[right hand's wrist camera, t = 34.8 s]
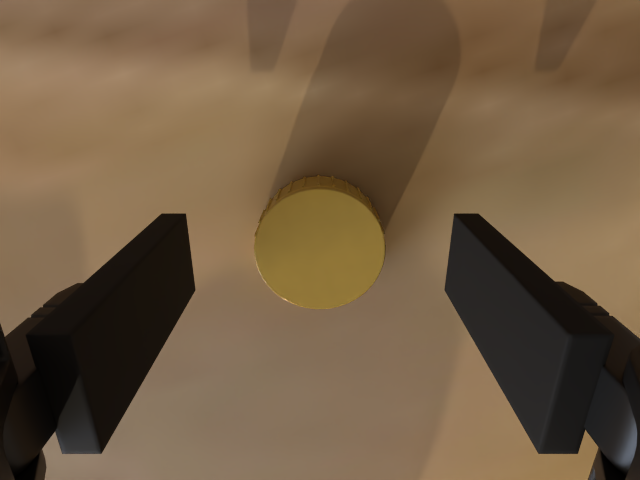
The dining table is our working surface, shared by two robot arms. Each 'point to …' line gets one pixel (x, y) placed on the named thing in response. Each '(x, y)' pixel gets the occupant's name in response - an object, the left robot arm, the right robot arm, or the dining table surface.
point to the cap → (319, 243)
